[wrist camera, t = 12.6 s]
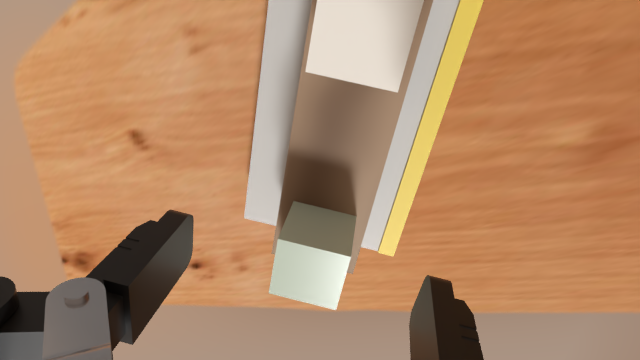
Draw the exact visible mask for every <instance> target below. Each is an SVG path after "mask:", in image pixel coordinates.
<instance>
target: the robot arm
mask: <svg viewBox="0 0 640 360" xmlns="http://www.w3.org/2000/svg"><path fill="white" fill-rule="evenodd" d="M192 249H193V216H192V215H190V214H186V213H182V212H178V211H174V210H169V211H167V212H166V213H165V215H164V216H163V217H162V218H161V219H160V220H159V221H158V222H156V221H152V220H150V221H148V222H146V223H144V224H142V225H140V226H138V227H136V228H135V229H134V230H133V231H132V232H131V233H130V234H129V235H128V236H127V237H126V239H124V240H123V241H122V242H121V243H120V244H119V245H118V247H117V248H115V249H114V250H113V251H112V252H111V253H110V254H109V255H108V256H107V257H106V258H105V259H104V260H103V261H102V262H101V263H99V264H98V265H97V266H96V267H95V268H94V269H93V270H92V271H91V272H90V273H89V274H88V275H87V276H86V277H85V278H75V279H71V280H68V281H65V282H64V283H61V284H59V285H58V286H56V287H55V288H54V289H53V290H52V291H51V292H16V288H15V284H14V283H13V281H11V280H10V279H8V278H5V277H0V360H113V354H112V351H113V350H114V348H115V347H116V346H117V344H118V343H119V342H120V341H121V342H125V343H128V344H132V345H133V344H134V342H135V341H136V339H137V338H138V336H139V335H140V334H141V332H142V331H143V329H144V328H145V326H146V325H147V323H148V322H149V321H150V319H151V318H152V316H153V315H154V314H155V312H156V311H157V309H158V308H159V307H160V305H161V304H162V302H163V301H164V299H165V298H166V297H167V295H168V294H169V292H170V291H171V289H172V288H173V287H174V285H175V284H176V282H177V281H178V279H179V278H180V277H181V275H182V274H183V272H184V271H185V269H186V268H187V266H188V264H189V262H190V259H191V256H192ZM409 328H410V352H411V360H484V359H483V355H482V351H481V346H480V343H479V337H478V333H477V331H476V325H475V320H474V315H473V313H472V312H471V310H470V309H469V307H468V306H467V304H466V303H465V301H463V300H459V299H455V298H454V293H453V288H452V283H451V281H448V280H445V279H441V278H437V277H433V276H429V275H427V276H426V278H425V279H424V282H423V284H422V287H421V289H420V292H419V294H418V296H417V299H416V301H415V304H414V306H413V309H412V312H411V318H410V325H409Z"/></svg>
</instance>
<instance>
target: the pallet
mask: <svg viewBox="0 0 640 360" xmlns="http://www.w3.org/2000/svg"><path fill="white" fill-rule="evenodd" d="M432 3H433V0H424V2H423V6H422V9H421V13H420V16H419V20H418V23H417V27H416V30H415V34H414V37H413V41H412V44H411V48H410V51H409V55H408V58H407V62H406V65H405V69H404V72H403V76H402V80H401V83H400V87H399V90H398V93H397V92H393V91H388V90H384V89H379V88H375V87H370V86H366V85H361V84H357V83H353V82H348V81H344V80H339V79H335V78H330V77H326V76H322V75H317V74H313V73H308V72H305V71H306V65H307V59H308V53H309V46H310V40H311V34H312V28H313V22H314V16H315V10H316V4H317V0H312V5H311V11H310V17H309V23H308V30H307V36H306V42H305V48H304V55H303V61H302V67H301V74H300V80H299V86H298V92H297V99H296V105H295V111H294V117H293V124H292V130H291V136H290V142H289V149H288V155H287V161H286V168H285V174H284V180H283V186H282V193H281V199H280V205H279V211H278V218H277V224H276V230H275V236H274V243H273V249H272V254H275V253H276V247H277V241H278V237H279V235H280V232H281V230H282V228H283V225H284V223H285V220H286V218H287V216H288V213H289V211H290V208H291V206H292V204H293V201H296V202H300V203H304V204H308V205H312V206H316V207H321V208H325V209H329V210H333V211H337V212H341V213H345V214H350V215H354V216H357V217H356V225H355V232H354V239H353V247H352V254H351V259H350V263H349V266H348V270H347V273H351V274H353V271H354V268H355V265H356V261H357V258H358V254H359V251H360V248H361V244H362V241H363V237H364V234H365V231H366V227H367V224H368V220H369V217H370V214H371V210H372V207H373V203H374V200H375V197H376V193H377V190H378V187H379V183H380V180H381V176H382V173H383V170H384V166H385V163H386V159H387V156H388V153H389V149H390V146H391V142H392V139H393V136H394V132H395V129H396V125H397V122H398V119H399V115H400V112H401V109H402V105H403V102H404V98H405V95H406V92H407V88H408V85H409V81H410V78H411V75H412V71H413V68H414V64H415V61H416V58H417V54H418V51H419V47H420V44H421V41H422V37H423V34H424V31H425V27H426V24H427V20H428V17H429V14H430V10H431V7H432Z"/></svg>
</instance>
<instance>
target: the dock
mask: <svg viewBox="0 0 640 360" xmlns="http://www.w3.org/2000/svg"><path fill="white" fill-rule="evenodd" d="M483 1H484V0H433V3H432V7H431V10H430V14H429V17H428V20H427V24H426V27H425V31H424V34H423V37H422V41H421V44H420V47H419V51H418V54H417V58H416V61H415V64H414V68H413V71H412V75H411V78H410V81H409V85H408V88H407V92H406V95H405V98H404V102H403V105H402V109H401V112H400V115H399V119H398V122H397V125H396V129H395V132H394V136H393V139H392V142H391V146H390V149H389V153H388V156H387V159H386V163H385V166H384V170H383V173H382V176H381V180H380V183H379V187H378V190H377V193H376V197H375V200H374V203H373V207H372V210H371V214H370V217H369V220H368V224H367V227H366V231H365V234H364V237H363V241H362V244H361V247H363V248H367V249H371V250H375V251H378V253H381V254H385V255H389V256H394V253H395V250H396V247H397V245H398V242H399V239H400V236H401V233H402V230H403V228H404V225H405V222H406V219H407V216H408V213H409V211H410V208H411V205H412V202H413V199H414V196H415V194H416V191H417V188H418V185H419V182H420V179H421V176H422V174H423V171H424V168H425V165H426V162H427V159H428V157H429V154H430V151H431V148H432V145H433V142H434V140H435V137H436V134H437V131H438V128H439V125H440V123H441V120H442V117H443V114H444V111H445V108H446V106H447V103H448V100H449V97H450V94H451V91H452V89H453V86H454V83H455V80H456V77H457V74H458V72H459V69H460V66H461V63H462V60H463V57H464V55H465V52H466V49H467V46H468V43H469V40H470V38H471V35H472V32H473V29H474V26H475V23H476V21H477V18H478V15H479V12H480V9H481V6H482V4H483ZM311 5H312V0H269V2H268V11H267V20H266V29H265V38H264V47H263V55H262V64H261V73H260V82H259V91H258V100H257V109H256V118H255V126H254V135H253V144H252V153H251V162H250V171H249V180H248V189H247V197H246V206H245V215H244V218H246V219H250V220H254V221H258V222H262V223H266V224H270V225H274V226H276V224H277V218H278V211H279V205H280V199H281V193H282V186H283V180H284V174H285V168H286V161H287V155H288V149H289V142H290V136H291V130H292V124H293V117H294V111H295V105H296V99H297V92H298V86H299V80H300V74H301V67H302V61H303V55H304V48H305V42H306V36H307V30H308V23H309V17H310V11H311Z"/></svg>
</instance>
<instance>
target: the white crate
mask: <svg viewBox="0 0 640 360" xmlns="http://www.w3.org/2000/svg"><path fill="white" fill-rule="evenodd" d="M423 2H424V0H317V4H316V10H315V16H314V22H313V28H312V34H311V40H310V46H309V53H308V59H307V65H306V71H305V72H308V73H313V74H317V75H322V76H326V77H330V78H335V79H339V80H344V81H348V82H353V83H357V84H361V85H366V86H370V87H375V88H379V89H384V90H388V91H393V92H397V93H398V90H399V87H400V83H401V80H402V76H403V72H404V69H405V65H406V62H407V58H408V55H409V51H410V48H411V44H412V41H413V37H414V34H415V30H416V27H417V23H418V20H419V16H420V13H421V9H422V6H423Z"/></svg>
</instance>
